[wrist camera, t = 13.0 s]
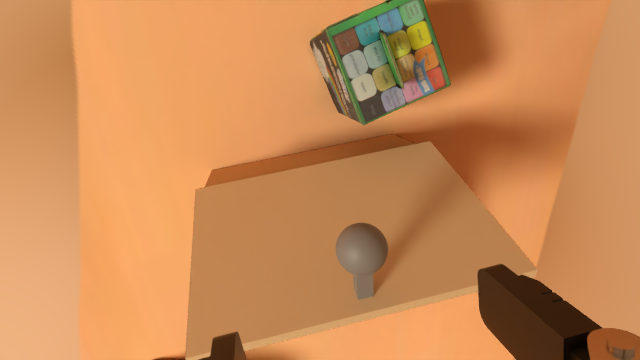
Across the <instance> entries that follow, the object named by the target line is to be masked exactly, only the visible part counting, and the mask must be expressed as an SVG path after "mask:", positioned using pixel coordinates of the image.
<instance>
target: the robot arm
mask: <svg viewBox="0 0 640 360" xmlns="http://www.w3.org/2000/svg"><path fill="white" fill-rule="evenodd" d="M477 278H478V295H479V310H480V314H481V317H482V319H483V321H484V323H485V325H486V326H487V328H488V329H489V330H490V331H491V332H492V333H493V334H494V335H495V337H496V338H497V339H498V340H499V341H500V342H501V343H502V344H503V345H504V346H505V348H506V349H507V350H508V351H509V352H510V353H511V354H512V355H513V356H514V357H515V359H516V360H640V337H639V336H637V335H635V334H633V333H630V332H628V331H624V330H620V329H614V328H602V327H600V326H599V325H598V324H596V323H595V322H594V321H592V320H591V319H589V318H588V317H587V316H586V315H584V314H582V313H581V312H580V311H579V310H577V309H576V308H575V307H573V306H572V305H571V304H569V303H568V302H567V301H563V299H562V298H561V297H560V296H558V295H557V294H556V293H553V292H552V290H550V289H549V288H548V287H546V286H545V285H544V284H542V283H541V282H540V281H537V280H535V279H532V278H530V277H527V276H525V275H517V274H515V273H514V272H513V271H512V270H510V269H509V268H508V267H506V266H505V265H503V264H498V265H494V266H490V267H486V268H482V269H479V270H478V274H477ZM198 360H246V356H245V353H244V349H243V346H242V342H241V339H240V336H239V333H238V332H233V333H229V334H225V335H221V336H217V337H214V338H213V340H212V347H211V354H210V356H209V357H205V358H202V359H198Z"/></svg>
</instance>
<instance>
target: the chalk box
mask: <svg viewBox="0 0 640 360" xmlns="http://www.w3.org/2000/svg"><path fill="white" fill-rule="evenodd" d="M310 45H311V48H312V50H313V53H314V55H315V58H316V60H317V63H318V66H319V68H320V70H321V73H322V75H323V78H324V80H325V82H326V84H327V87H328V90H329V92H330V95H331V97H332V99H333V102H334V104H335V106H336V108H337V110H338V112H339V113H341V114H343V115H345V116H348V117H349V118H351V119H354V120H356V121H358V122H360V123H361V124H363V125H365V124H367V123H369V122H372V121H374V120H376V119H378V118H380V117H382V116H385V115H387V114H389V113H391V112H393V111H395V110H398V109H400V108H402V107H404V106H406V105H409V104H411V103H413V102H415V101H417V100H420V99H422V98H424V97H426V96H428V95H430V94H433V93H435V92H437V91H439V90H442V89H444V88H446V87H448V86H450V85H451V83H450V80H449V77H448V73H447V70H446V67H445V64H444V60H443V58H442V54H441V51H440V48H439V45H438V42H437V39H436V36H435V33H434V30H433V27H432V24H431V21H430V19H429V16H428V13H427V10H426V7H425V3H424V0H386V1H384V2H383V3H381V4H379V5H377V6H374V7H372V8H370V9H367V10H365V11H363V12H360V13H358V14H354V15H352V16H350V17H348V18H345V19H343V20H341V21H339V22H337V23H334V24H332V25H330V26H328V27H327V28H325V29H324V30H323V31H321V32H320V33H319V34H318V35H316V36H315V37H314V38H313V39H311V41H310Z"/></svg>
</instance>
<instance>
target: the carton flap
mask: <svg viewBox="0 0 640 360" xmlns="http://www.w3.org/2000/svg"><path fill="white" fill-rule="evenodd" d="M498 264H503V265H505V266H506V267H508V268H509V269H510V270H512V271H513V272H514V273H515V274H517V275H525V276H527V277H530V278H534V277H535V276H536V274H537V271H538V269H537V268H536V267H535V265H534V264H533V263H532V262H531V261H530V259H529V258H528V257H527V256H526V255H525V253H524V252H523V251H522V250H521V249H520V247H519V246H518V245H517V244H516V243H515V241H514V240H513V239H512V238H511V237H510V236H509V234H508V233H507V232H506V231H505V230H504V228H503V227H502V226H501V225H500V224H499V222H498V221H497V220H496V219H495V218H494V216H493V215H492V214H491V213H490V212H489V211H488V209H487V208H486V207H485V206H484V205H483V203H482V202H481V201H480V200H479V199H478V197H477V196H476V195H475V194H474V193H473V191H472V190H471V189H470V188H469V187H468V185H467V184H466V183H465V182H464V181H463V180H462V178H461V177H460V176H459V175H458V174H457V172H456V171H455V170H454V169H453V168H452V166H451V165H450V164H449V163H448V162H447V160H446V159H445V158H444V157H443V156H442V155H441V153H440V152H439V151H438V150H437V149H436V147H435V146H434V145H433V144H432V143H431V141H428V142H423V143H418V144H413V145H408V146H403V147H398V148H394V149H389V150H384V151H379V152H374V153H369V154H364V155H360V156H355V157H350V158H345V159H340V160H335V161H330V162H325V163H321V164H316V165H311V166H306V167H301V168H296V169H291V170H287V171H282V172H277V173H272V174H267V175H262V176H257V177H252V178H248V179H243V180H238V181H233V182H228V183H223V184H218V185H214V186H209V187H204V188H199V189H196V191H195V207H194V223H193V239H192V256H191V272H190V288H189V305H188V321H187V337H186V354H185V359H186V360H198V359H202V358H205V357H209V356H210V354H211V347H212V340H213V338H214V337H217V336H221V335H225V334H229V333H233V332H238V333H239V336H240V339H241V342H242V346H243V349H244V351H247V350H251V349H255V348H259V347H263V346H267V345H271V344H275V343H279V342H283V341H287V340H291V339H295V338H298V337H302V336H306V335H310V334H314V333H318V332H322V331H326V330H330V329H334V328H338V327H342V326H346V325H350V324H353V323H357V322H361V321H365V320H369V319H373V318H377V317H381V316H385V315H389V314H393V313H397V312H401V311H405V310H409V309H412V308H416V307H420V306H424V305H428V304H432V303H436V302H440V301H444V300H448V299H452V298H456V297H460V296H464V295H467V294H471V293H475V292H478V278H477V274H478V270H479V269H482V268H486V267H490V266H494V265H498Z"/></svg>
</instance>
